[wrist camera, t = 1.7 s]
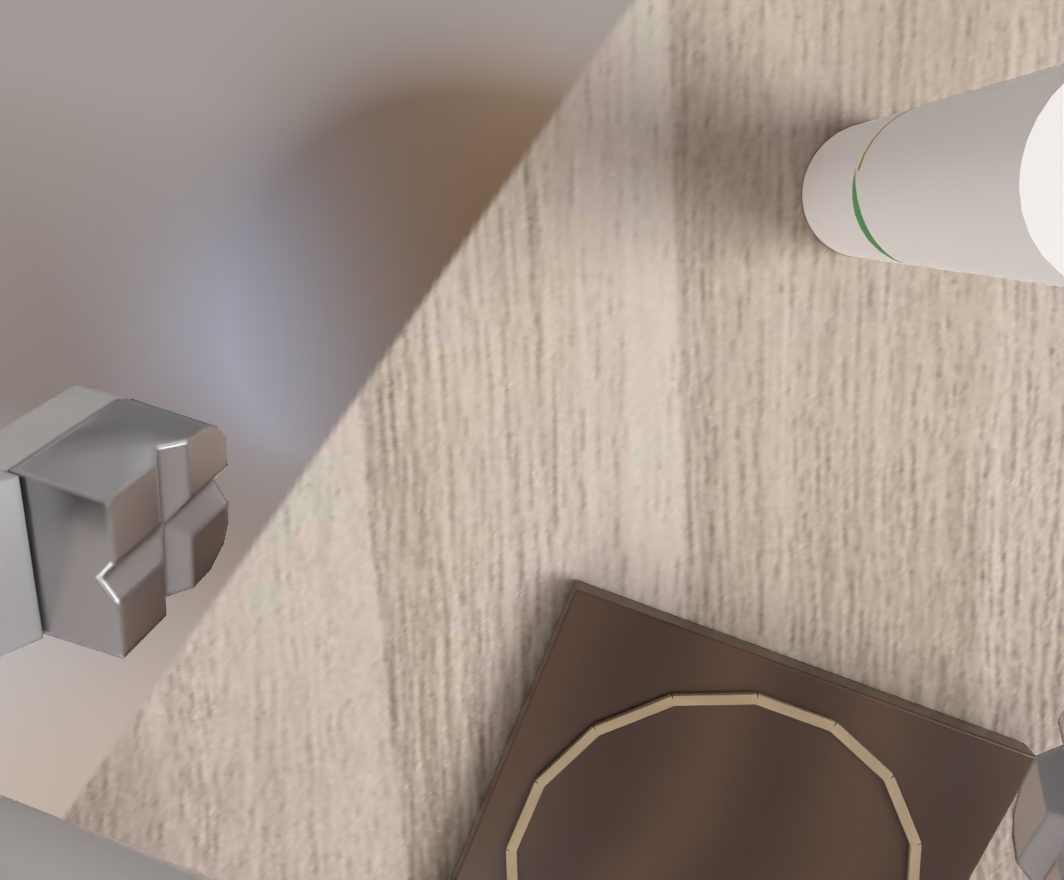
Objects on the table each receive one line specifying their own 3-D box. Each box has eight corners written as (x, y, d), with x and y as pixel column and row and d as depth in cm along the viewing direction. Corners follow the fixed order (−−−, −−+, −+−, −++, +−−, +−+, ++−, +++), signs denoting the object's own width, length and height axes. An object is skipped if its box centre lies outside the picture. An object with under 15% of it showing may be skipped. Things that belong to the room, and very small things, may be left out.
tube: (825, 107, 31) (1072, 11, 16) (952, 140, 31) (1310, 75, 16) (785, 239, 32) (984, 261, 17) (909, 271, 32) (1210, 319, 17)
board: (411, 971, 39) (407, 995, 37) (575, 578, 35) (576, 591, 34) (821, 1108, 40) (830, 1135, 39) (1025, 743, 36) (1041, 760, 35)
